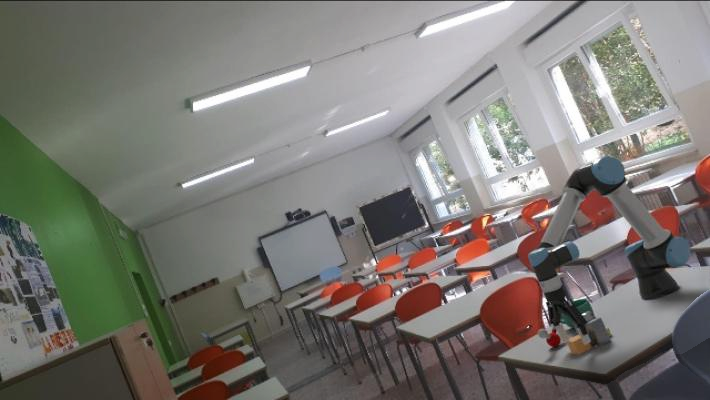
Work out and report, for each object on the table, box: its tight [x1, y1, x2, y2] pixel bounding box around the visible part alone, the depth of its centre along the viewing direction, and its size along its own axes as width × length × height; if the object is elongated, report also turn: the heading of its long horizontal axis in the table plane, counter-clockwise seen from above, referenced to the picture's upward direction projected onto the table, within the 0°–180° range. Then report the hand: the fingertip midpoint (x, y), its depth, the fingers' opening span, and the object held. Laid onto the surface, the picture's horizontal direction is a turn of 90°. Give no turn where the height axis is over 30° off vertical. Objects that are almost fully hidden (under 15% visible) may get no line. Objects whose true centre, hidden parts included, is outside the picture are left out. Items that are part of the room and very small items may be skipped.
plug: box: [565, 327, 613, 355], centre depth 215 cm, size 16×4×5 cm, turn 106°
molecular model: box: [537, 324, 562, 348], centre depth 231 cm, size 18×6×10 cm, turn 139°
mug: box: [560, 298, 595, 329], centre depth 245 cm, size 17×13×10 cm
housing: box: [572, 311, 612, 347], centre depth 216 cm, size 5×11×12 cm, turn 16°
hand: (576, 342), depth 213 cm, fingers open, 13 cm apart
